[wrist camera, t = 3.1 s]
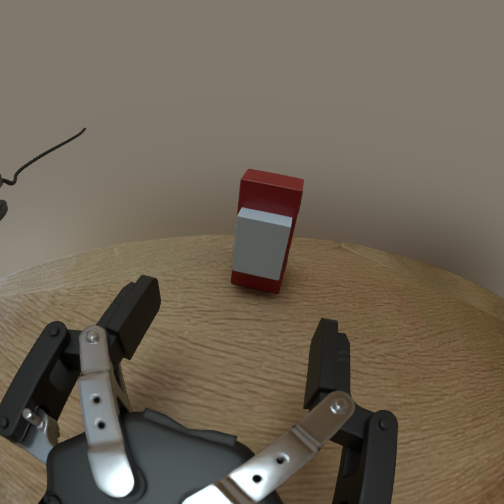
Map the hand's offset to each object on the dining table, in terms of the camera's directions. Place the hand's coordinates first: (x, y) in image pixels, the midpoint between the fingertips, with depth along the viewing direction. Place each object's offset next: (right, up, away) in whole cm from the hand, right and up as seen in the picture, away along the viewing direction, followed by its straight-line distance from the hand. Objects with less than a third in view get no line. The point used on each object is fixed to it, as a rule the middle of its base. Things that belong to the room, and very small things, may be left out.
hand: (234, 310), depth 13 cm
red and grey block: (+1, 0, +13) cm, 13 cm away
